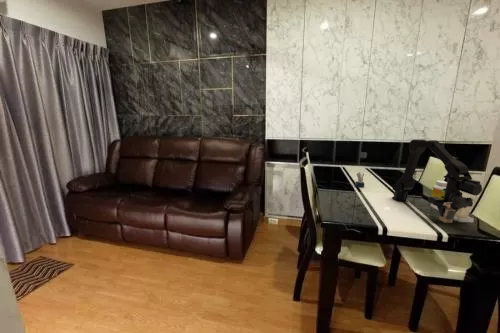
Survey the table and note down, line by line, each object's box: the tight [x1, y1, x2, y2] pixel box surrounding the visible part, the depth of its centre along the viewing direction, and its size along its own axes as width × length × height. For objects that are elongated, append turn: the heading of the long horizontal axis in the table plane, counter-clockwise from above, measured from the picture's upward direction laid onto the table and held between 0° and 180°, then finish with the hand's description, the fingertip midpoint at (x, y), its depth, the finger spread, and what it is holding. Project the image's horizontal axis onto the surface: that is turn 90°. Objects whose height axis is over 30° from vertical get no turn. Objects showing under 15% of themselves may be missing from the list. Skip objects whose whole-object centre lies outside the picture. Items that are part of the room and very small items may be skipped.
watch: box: [354, 171, 365, 189], centre depth 174 cm, size 6×8×11 cm
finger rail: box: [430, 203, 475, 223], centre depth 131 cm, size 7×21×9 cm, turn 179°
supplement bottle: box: [430, 180, 447, 199], centre depth 149 cm, size 7×7×13 cm
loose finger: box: [438, 207, 455, 224], centre depth 122 cm, size 4×5×7 cm
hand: (446, 216), depth 123 cm, fingers open, 5 cm apart
